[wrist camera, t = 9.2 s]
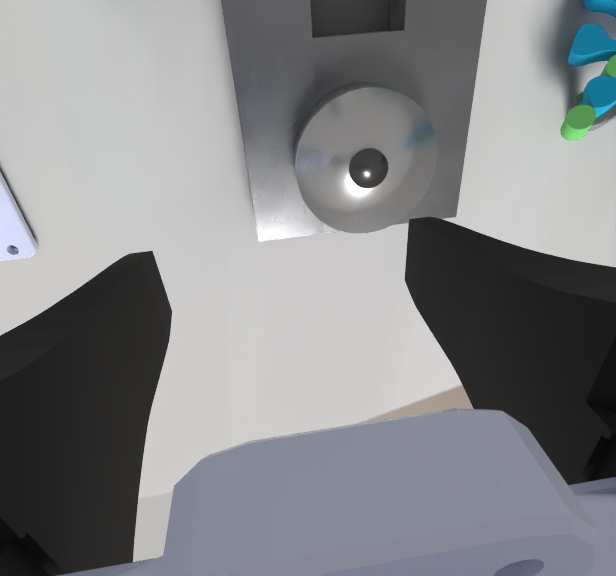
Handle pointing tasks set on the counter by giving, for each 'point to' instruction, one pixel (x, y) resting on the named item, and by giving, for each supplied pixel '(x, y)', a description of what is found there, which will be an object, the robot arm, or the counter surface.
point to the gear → (601, 90)
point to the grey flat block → (353, 114)
